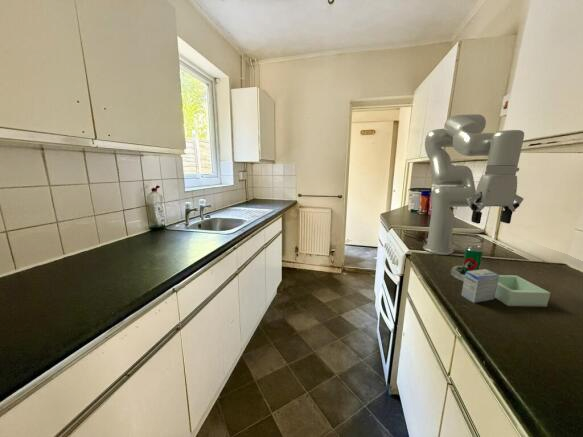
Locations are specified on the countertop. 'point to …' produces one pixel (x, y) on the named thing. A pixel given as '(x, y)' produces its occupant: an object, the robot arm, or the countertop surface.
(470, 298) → the medicine box
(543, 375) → the countertop surface
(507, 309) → the countertop surface
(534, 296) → the bin
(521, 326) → the countertop surface
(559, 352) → the countertop surface
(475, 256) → the soda can
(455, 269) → the collar
